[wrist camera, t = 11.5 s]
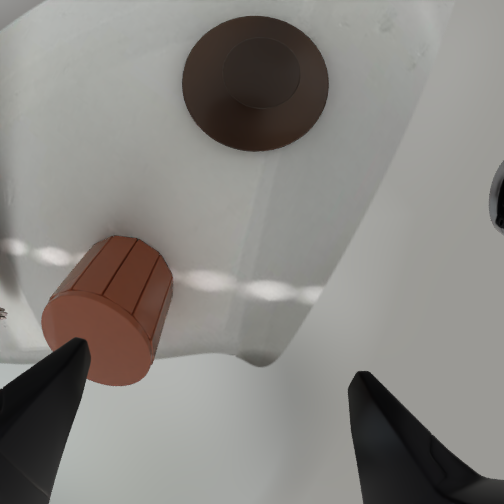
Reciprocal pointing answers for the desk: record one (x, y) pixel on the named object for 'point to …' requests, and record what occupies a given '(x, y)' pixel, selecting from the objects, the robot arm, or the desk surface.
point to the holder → (255, 83)
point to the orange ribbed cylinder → (113, 309)
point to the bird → (2, 314)
